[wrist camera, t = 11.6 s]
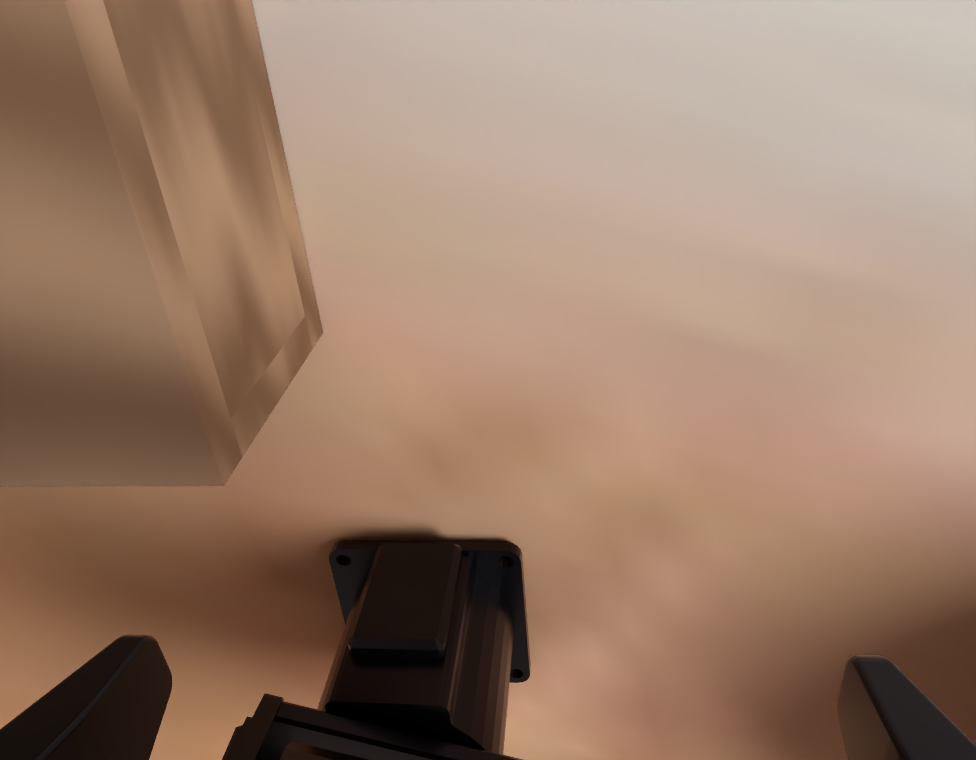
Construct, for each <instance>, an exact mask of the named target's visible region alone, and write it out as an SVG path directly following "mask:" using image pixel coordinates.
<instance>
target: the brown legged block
mask: <svg viewBox="0 0 976 760" xmlns="http://www.w3.org/2000/svg"><path fill="white" fill-rule="evenodd" d="M322 333H323V330H322V325H321V321H320V316H319V311H318V307H317V302H316V297H315V293H314V288H313V283H312V279H311V274H310V270H309V265H308V260H307V256H306V251H305V246H304V242H303V237H302V232H301V228H300V223H299V218H298V214H297V209H296V204H295V200H294V195H293V190H292V186H291V181H290V177H289V172H288V167H287V163H286V158H285V153H284V149H283V144H282V139H281V135H280V130H279V125H278V121H277V116H276V111H275V107H274V102H273V97H272V93H271V88H270V84H269V79H268V74H267V70H266V65H265V60H264V56H263V51H262V46H261V42H260V37H259V32H258V28H257V23H256V18H255V14H254V9H253V4H252V0H0V486H224V485H225V483H226V482H227V480H228V478H229V477H230V475H231V474H232V472H233V471H234V469H235V468H236V466H237V465H238V463H239V461H240V460H241V458H242V457H243V455H244V454H245V452H246V451H247V449H248V448H249V446H250V444H251V443H252V441H253V440H254V438H255V437H256V435H257V434H258V432H259V431H260V429H261V427H262V426H263V424H264V423H265V421H266V420H267V418H268V417H269V415H270V414H271V412H272V410H273V409H274V407H275V406H276V404H277V403H278V401H279V400H280V398H281V397H282V395H283V393H284V392H285V390H286V389H287V387H288V386H289V384H290V383H291V381H292V380H293V378H294V376H295V375H296V373H297V372H298V370H299V369H300V367H301V366H302V364H303V363H304V361H305V360H306V358H307V356H308V355H309V353H310V352H311V350H312V349H313V347H314V346H315V344H316V343H317V341H318V339H319V338H320V336H321V335H322Z"/></svg>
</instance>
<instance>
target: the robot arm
mask: <svg viewBox="0 0 976 760" xmlns="http://www.w3.org/2000/svg"><path fill="white" fill-rule="evenodd" d="M342 555H346V556H348V557H344V556H342ZM504 556H507V557H510V558H511V559H503V558H502V557H504ZM329 561H330V565H331V569H332V573H333V577H334V581H335V585H336V589H337V593H338V597H339V600H340V604H341V608H342V612H343V616H344V620H345V624H346V625H345V628H344V631H343V634H342V637H341V640H340V643H339V646H338V649H337V652H336V655H335V658H334V661H333V664H332V667H331V670H330V673H329V676H328V679H327V682H326V684H325V687H324V690H323V693H322V696H321V699H320V702H319V705H318V708H317V709H312V708H308V707H304V706H300V705H296V704H292V703H288V702H284V701H283V700H284V698H282V697H278V696H274V695H270V694H264V696H263V698H262V700H261V702H260V704H259V706H258V708H257V710H256V711H255V713H254V715H253V717H252V718H251V717H247V718H246V720H245V722H244V724H243V725H242V726H239V727H236V729H235V731H234V733H233V735H232V738H231V740H230V742H229V745H228V747H227V749H226V752H225V754H224V756H223V759H222V760H522V759H518V758H514V757H510V756H506V755H503V750H504V739H505V727H506V716H507V704H508V693H509V682H513V683H518V682H524V681H526V680H527V679H528V678H529V676H530V652H529V639H528V626H527V613H526V600H525V587H524V574H523V561H522V552H521V550H520V548H519V547H518V546H517V545H515V544H513V543H508V542H428V541H339V542H337V543H335V544H334V546H333V548H332V550H331V553H330V555H329ZM171 689H172V675H171V672H170V669H169V667H168V665H167V663H166V660H165V658H164V656H163V654H162V651H161V649H160V647H159V645H158V642H157V641H156V639H155V638H153V637H152V636H149V635H125V636H122V637H120V638H118V639H116V640H115V641H114V642H112V643H111V644H110V645H109V646H107V647H106V648H105V649H103V650H102V651H101V652H99V653H98V654H97V655H96V656H94V657H93V658H92V659H90V660H89V661H88V662H87V663H85V664H84V665H83V666H81V667H80V668H79V669H78V670H76V671H75V672H74V673H72V674H71V675H70V676H69V677H67V678H66V679H65V680H63V681H62V682H61V683H59V684H58V685H57V686H56V687H54V688H53V689H52V690H50V691H49V692H48V693H47V694H45V695H44V696H43V697H41V698H40V699H39V700H38V701H36V702H35V703H34V704H32V705H31V706H30V707H29V708H27V709H26V710H25V711H23V712H22V713H21V714H19V715H18V716H17V717H16V718H14V719H13V720H12V721H10V722H9V723H8V724H7V725H5V726H4V727H3V728H1V729H0V760H149V758H150V755H151V752H152V748H153V745H154V742H155V739H156V736H157V733H158V730H159V727H160V724H161V721H162V718H163V715H164V712H165V709H166V706H167V703H168V700H169V697H170V693H171ZM837 709H838V717H839V722H840V726H841V730H842V735H843V739H844V744H845V748H846V753H847V757H848V760H976V745H975V744H974V743H973V742H972V741H971V740H970V739H969V738H968V737H967V736H966V735H965V734H964V733H963V732H962V731H961V730H960V729H959V728H958V727H957V726H956V725H955V724H954V723H953V722H952V721H951V720H950V719H949V718H948V717H947V716H946V715H945V714H944V713H943V712H942V711H941V710H940V709H939V708H938V707H937V706H936V705H935V704H934V703H933V702H932V701H931V700H930V699H929V698H928V697H927V696H926V695H925V694H924V693H923V692H922V691H921V690H920V689H919V688H918V687H917V686H916V685H915V684H914V683H913V682H912V681H911V680H910V679H909V678H908V677H907V676H906V675H905V674H904V673H903V672H902V671H901V670H900V669H899V668H898V667H897V666H896V665H895V664H894V663H893V662H892V661H891V660H889V659H888V658H886V657H884V656H880V655H851V656H850V657H849V658H848V659H847V662H846V665H845V669H844V673H843V677H842V681H841V685H840V690H839V694H838V699H837Z"/></svg>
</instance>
